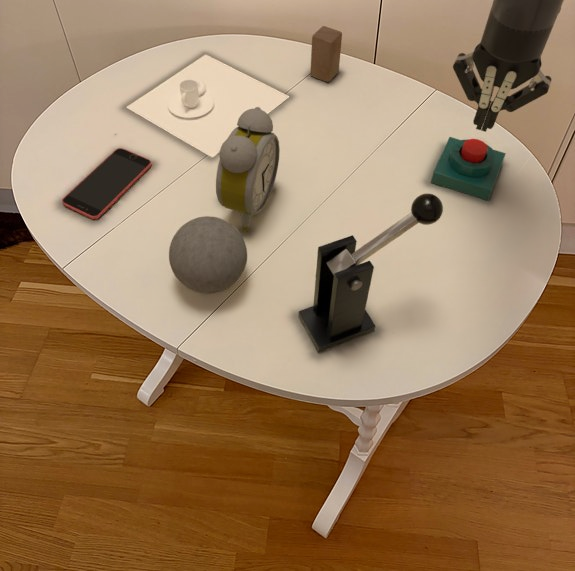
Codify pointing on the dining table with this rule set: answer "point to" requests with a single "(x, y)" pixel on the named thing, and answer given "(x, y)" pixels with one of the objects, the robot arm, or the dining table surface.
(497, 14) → the robot arm
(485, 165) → the button block
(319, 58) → the wooden block
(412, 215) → the lever
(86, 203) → the smartphone
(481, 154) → the button
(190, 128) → the teacup and saucer
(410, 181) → the dining table surface
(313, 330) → the bracket
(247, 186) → the alarm clock
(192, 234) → the decorative ball
